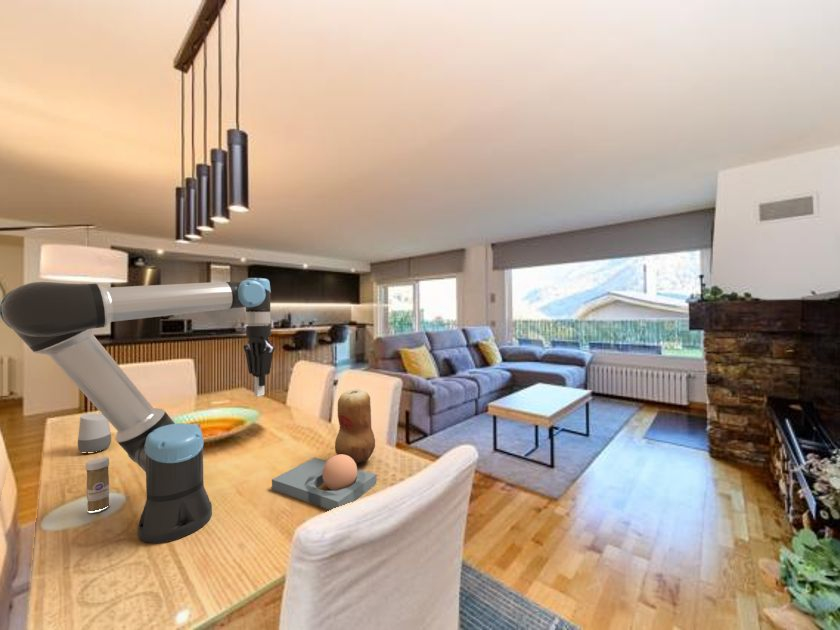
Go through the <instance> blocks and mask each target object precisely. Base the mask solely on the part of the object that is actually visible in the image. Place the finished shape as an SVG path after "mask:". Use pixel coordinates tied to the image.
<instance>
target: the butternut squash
mask: <svg viewBox="0 0 840 630" xmlns="http://www.w3.org/2000/svg"><path fill="white" fill-rule="evenodd" d="M371 407H372V406H371V396H370V395H369V392H367V391H366V390H364V389H361V388H359V389H358V388H357V389H350V390H346V391H344V392H342V394H341V395H340V396H339V398H338V400H337V420H338V425H339V430H338V433H337V434H336V435H337V436H336V439H335V442H334V444H335V445H334V450H335V455H339V454H344V455H347V456H349V457H351V458H352V459H353V460H354V461H355V463H356V465H358V464H359V463H361V462H367V461H368V460H369V458H371V456H372V454H373V453H374V450H375V447H376V439H375V434H374V431H373V429H372V408H371Z"/></svg>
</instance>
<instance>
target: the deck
mask: <svg viewBox="0 0 840 630" xmlns="http://www.w3.org/2000/svg"><path fill="white" fill-rule="evenodd" d="M327 461H328V460H325V459H323V458H319V457H312V458H311V459H309V460H307V461H305V462H303V463H301V464H300V465H297V466H295V467H293V468H291V469H289V470H288V471H286V472H283V473H281V474H280V475H278V476H276V477H274V478H271V490H272V491H276V492H278V493H281V494H284V495H285V496H289V497H292V498H295V499H298V500H301V501H303V502H306V503H309V504H312V505H314V506H317V507H320V508H322V509H326V510H328V511H331V509H333V508H336V507H339V506H342V505H345V504H347V503H350V502H352V503H354V502H355V501H356V500H357V499H359V498H360V497H362V496H363V495H364V494H366V493H367V492H368V491H370V490H371V489H372V488H374V487H375V486H376V485H377V484H376V483H377V482H378V481H377V480H378V479H377V473H373V472H369V471H366V470H361V469H359V468H357V477H356V480H355V482H354V483H353V484H352V485H351V486H350V487H348V488H345V489H341V490H338V491H333V490H323V489H321V488H319V487H320V486H322V485H324V484H325V483H324V481H323V468H324V466H325V464H326V462H327ZM375 484H376V485H375ZM374 485H375V486H374ZM371 487H372V488H371ZM370 488H371V489H370ZM353 501H354V502H353Z"/></svg>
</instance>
